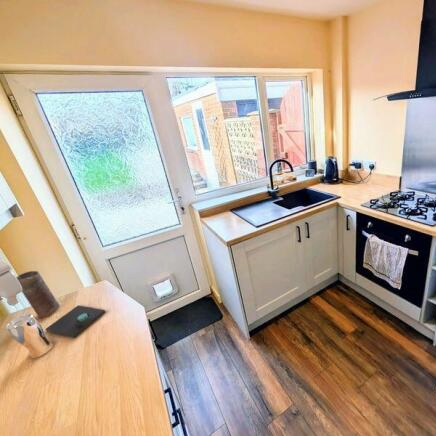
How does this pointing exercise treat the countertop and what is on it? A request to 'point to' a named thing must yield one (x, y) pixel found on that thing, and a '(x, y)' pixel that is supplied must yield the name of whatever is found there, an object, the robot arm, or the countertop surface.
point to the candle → (37, 293)
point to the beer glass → (29, 334)
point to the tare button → (82, 317)
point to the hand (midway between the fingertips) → (6, 302)
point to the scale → (75, 321)
